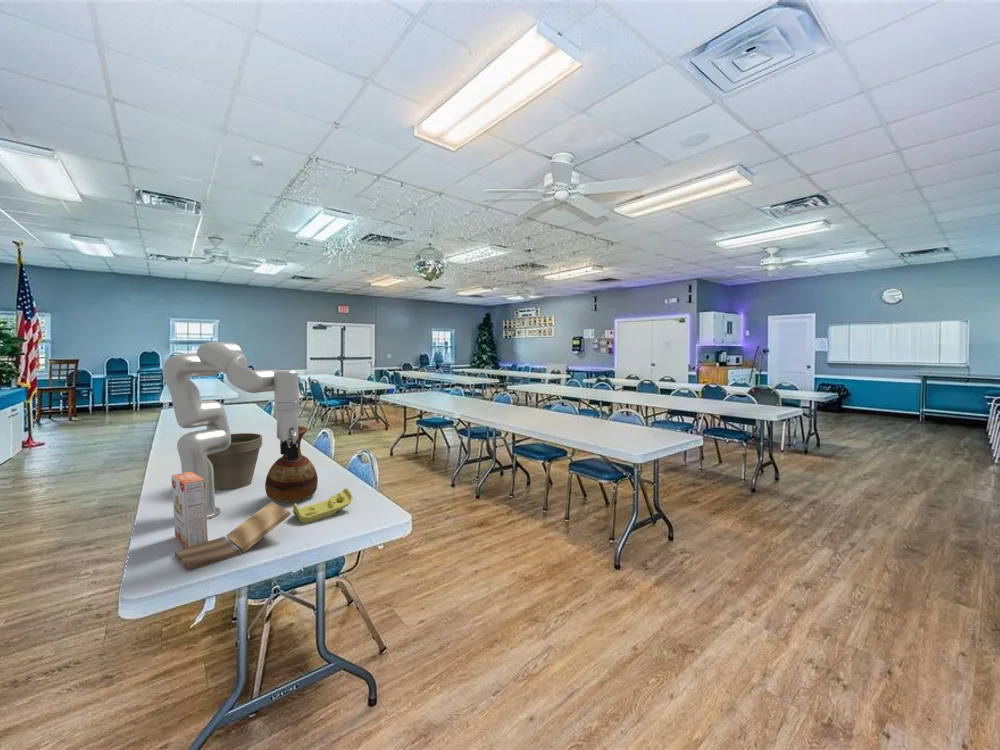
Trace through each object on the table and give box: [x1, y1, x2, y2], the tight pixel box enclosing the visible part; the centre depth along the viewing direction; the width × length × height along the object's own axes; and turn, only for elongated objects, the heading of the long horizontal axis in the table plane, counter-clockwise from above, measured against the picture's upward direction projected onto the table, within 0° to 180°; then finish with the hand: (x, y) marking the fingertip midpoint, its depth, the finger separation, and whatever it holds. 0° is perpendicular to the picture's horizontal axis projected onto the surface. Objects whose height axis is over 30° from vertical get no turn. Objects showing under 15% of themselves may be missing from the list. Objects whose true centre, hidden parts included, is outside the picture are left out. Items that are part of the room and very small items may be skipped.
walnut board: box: [174, 536, 241, 572], centre depth 127 cm, size 14×13×2 cm
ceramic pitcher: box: [264, 425, 319, 503], centre depth 177 cm, size 20×20×30 cm
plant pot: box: [207, 432, 263, 491], centre depth 194 cm, size 25×25×22 cm
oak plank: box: [225, 500, 292, 553], centre depth 138 cm, size 16×14×2 cm
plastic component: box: [292, 487, 354, 524], centre depth 160 cm, size 20×7×10 cm
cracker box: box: [171, 472, 209, 548], centre depth 137 cm, size 14×6×21 cm, turn 50°
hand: (289, 456), depth 145 cm, fingers open, 9 cm apart
